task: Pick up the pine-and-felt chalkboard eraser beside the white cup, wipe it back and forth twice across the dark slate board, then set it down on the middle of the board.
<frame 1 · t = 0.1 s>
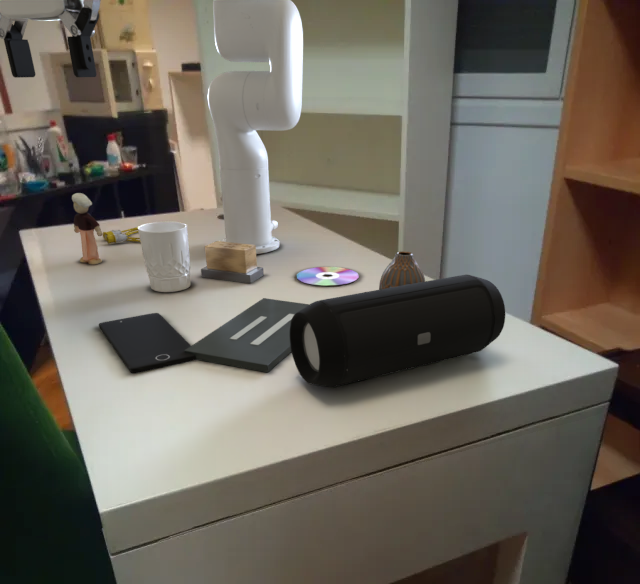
hand: (54, 77, 72), 31 cm above the table, tool pointing down, fingers open, 9 cm apart
vase: (400, 312, 91), on the table
cell phone: (147, 345, 81), on the table
grandmother figurine: (93, 263, 115), on the table
portable speaker: (397, 368, 74), on the table
white cup: (171, 287, 102), on the table
cd: (327, 277, 106), on the table
yellow grey glove: (140, 238, 132), on the table
eraser: (232, 276, 107), on the table
slate board: (265, 333, 83), on the table
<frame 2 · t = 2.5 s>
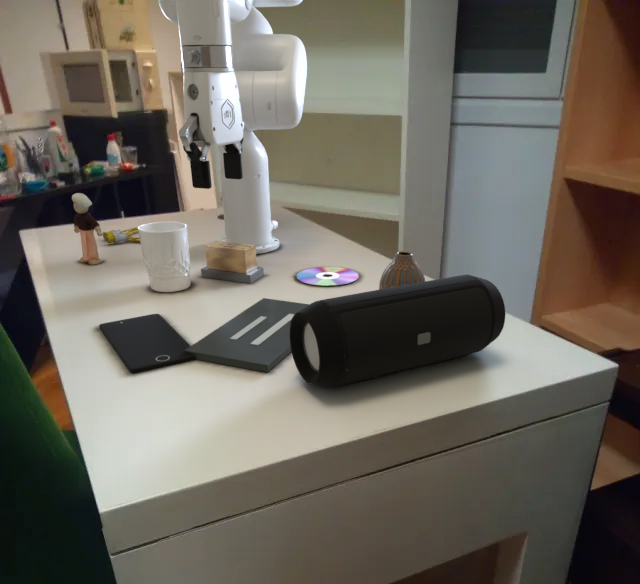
hand: (218, 183, 97), 16 cm above the table, tool pointing down, fingers open, 9 cm apart
nothing on the table moved.
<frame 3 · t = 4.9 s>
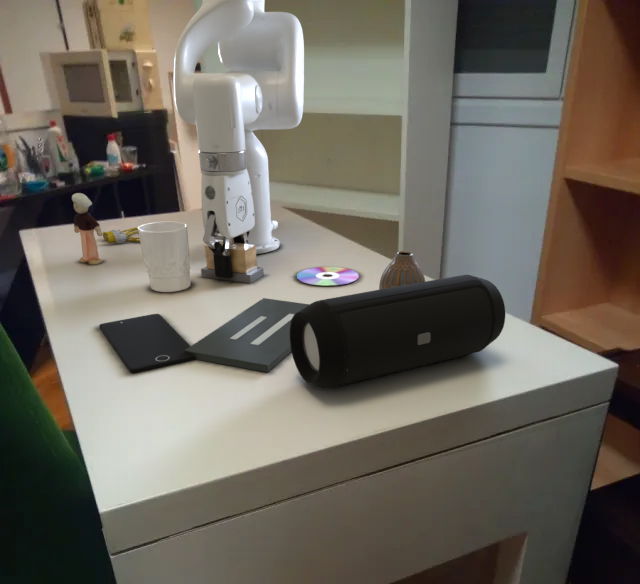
hand: (232, 271, 106), 1 cm above the table, tool pointing down, fingers closed on eraser, 5 cm apart
eraser: (232, 276, 107), on the table, touching gripper
everything else where it was.
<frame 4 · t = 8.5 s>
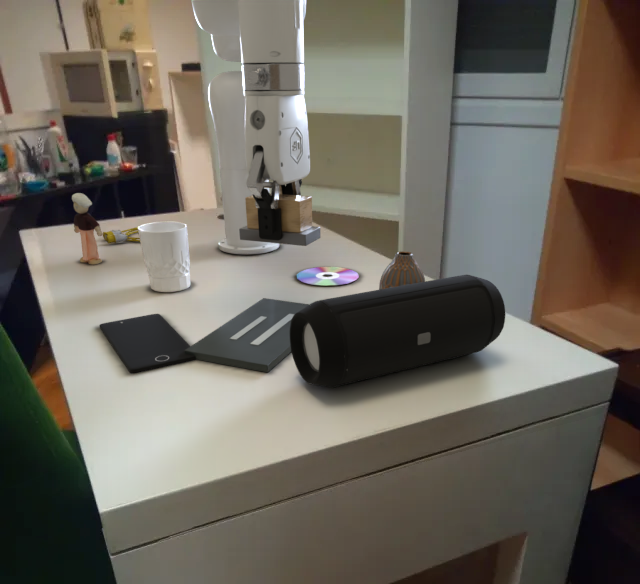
hand: (280, 233, 81), 13 cm above the table, tool pointing down, fingers closed on eraser, 5 cm apart
eraser: (280, 238, 82), point 12 cm above the table, touching gripper
everything else where it was.
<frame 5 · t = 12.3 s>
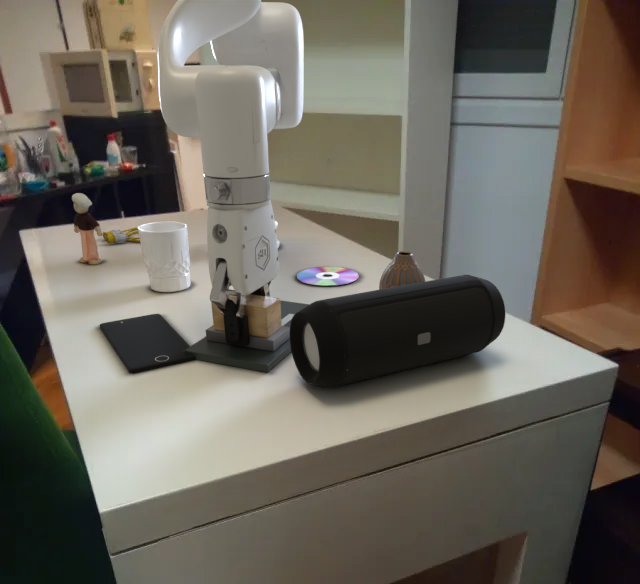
hand: (248, 334, 79), 2 cm above the table, tool pointing down, fingers closed on eraser, 5 cm apart
eraser: (248, 339, 79), point 1 cm above the table, touching gripper
everything else where it was.
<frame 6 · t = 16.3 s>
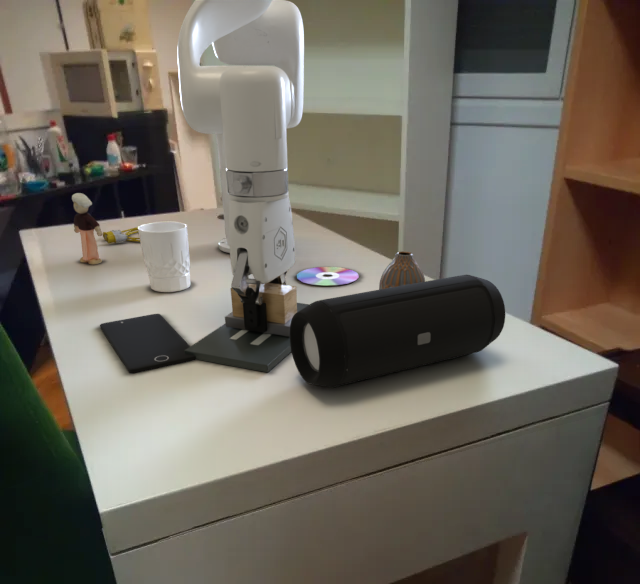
hand: (265, 322, 82), 2 cm above the table, tool pointing down, fingers closed on eraser, 5 cm apart
eraser: (265, 325, 83), point 1 cm above the table, touching gripper
everything else where it was.
when the fingers open (2 cm above the table, at t = 19.7 s): eraser stays where it is, resting on slate board.
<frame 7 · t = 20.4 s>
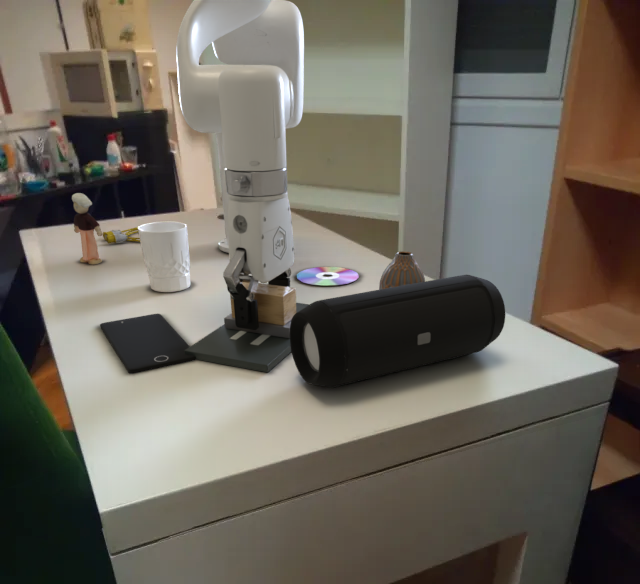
hand: (264, 315, 82), 3 cm above the table, tool pointing down, fingers open, 9 cm apart
eraser: (264, 327, 83), point 1 cm above the table, touching slate board
everything else where it was.
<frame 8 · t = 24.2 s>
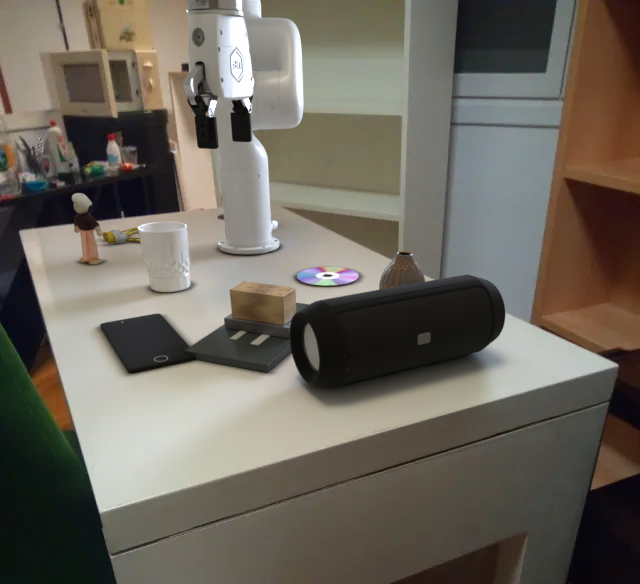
hand: (226, 144, 88), 22 cm above the table, tool pointing down, fingers open, 9 cm apart
nothing on the table moved.
at the end: eraser inside the target area on the slate board (0.1 cm from its centre), point 1.1 cm above the slate board's base; the gripper is holding nothing; eraser moved 28.5 cm from its start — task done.
